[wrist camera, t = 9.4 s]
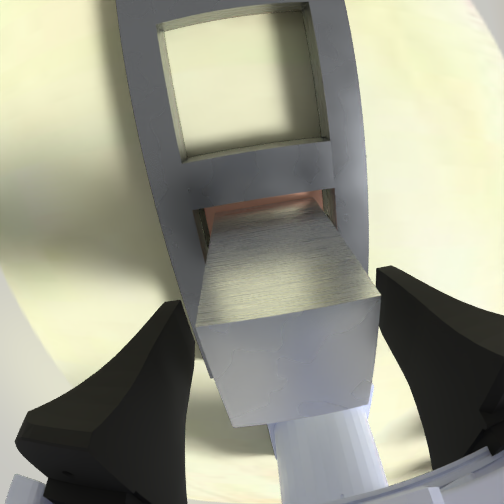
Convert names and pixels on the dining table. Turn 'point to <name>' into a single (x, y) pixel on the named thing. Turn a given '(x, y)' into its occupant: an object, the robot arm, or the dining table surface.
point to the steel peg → (286, 315)
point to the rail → (253, 157)
